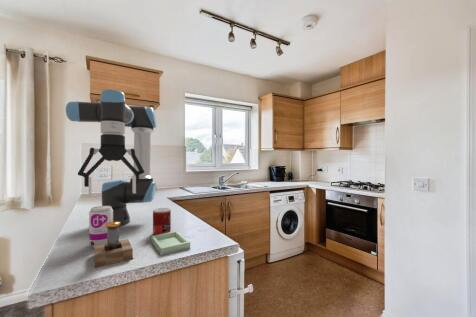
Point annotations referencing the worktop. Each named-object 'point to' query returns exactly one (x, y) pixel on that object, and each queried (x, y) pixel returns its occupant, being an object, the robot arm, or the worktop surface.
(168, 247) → the tray
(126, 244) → the block
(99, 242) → the supplement can
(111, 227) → the pin
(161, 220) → the canned food
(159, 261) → the worktop surface
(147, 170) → the robot arm
